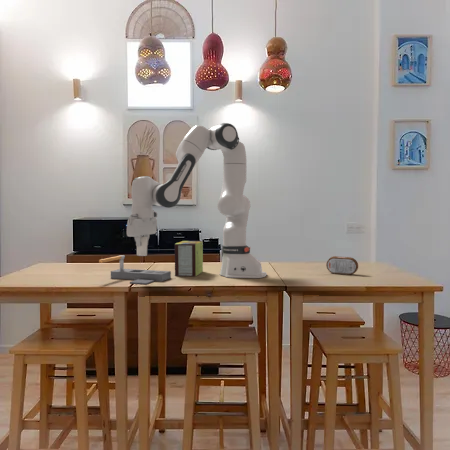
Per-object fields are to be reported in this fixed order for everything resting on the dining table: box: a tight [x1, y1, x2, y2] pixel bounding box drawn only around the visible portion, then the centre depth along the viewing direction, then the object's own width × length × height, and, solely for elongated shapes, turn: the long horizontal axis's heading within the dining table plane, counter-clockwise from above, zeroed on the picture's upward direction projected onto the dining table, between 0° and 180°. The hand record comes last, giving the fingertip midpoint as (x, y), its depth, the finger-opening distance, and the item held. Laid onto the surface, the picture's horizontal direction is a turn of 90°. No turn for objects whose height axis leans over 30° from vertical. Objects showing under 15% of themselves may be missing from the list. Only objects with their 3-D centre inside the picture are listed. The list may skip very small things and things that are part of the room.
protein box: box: [174, 240, 204, 277], centre depth 212 cm, size 10×15×16 cm
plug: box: [136, 235, 148, 257], centre depth 188 cm, size 4×4×8 cm
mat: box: [129, 279, 156, 286], centre depth 189 cm, size 8×8×1 cm
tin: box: [326, 255, 359, 276], centre depth 212 cm, size 15×3×8 cm, turn 65°
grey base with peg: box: [110, 258, 172, 283], centre depth 199 cm, size 26×9×9 cm, turn 72°
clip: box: [98, 254, 126, 264], centre depth 195 cm, size 18×3×1 cm, turn 160°
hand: (142, 245), depth 188 cm, fingers closed on plug, 4 cm apart
